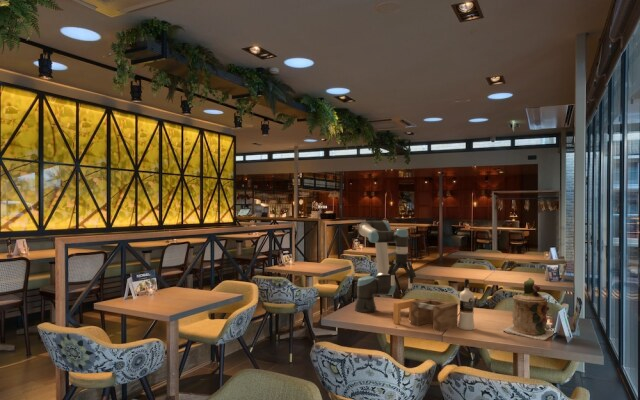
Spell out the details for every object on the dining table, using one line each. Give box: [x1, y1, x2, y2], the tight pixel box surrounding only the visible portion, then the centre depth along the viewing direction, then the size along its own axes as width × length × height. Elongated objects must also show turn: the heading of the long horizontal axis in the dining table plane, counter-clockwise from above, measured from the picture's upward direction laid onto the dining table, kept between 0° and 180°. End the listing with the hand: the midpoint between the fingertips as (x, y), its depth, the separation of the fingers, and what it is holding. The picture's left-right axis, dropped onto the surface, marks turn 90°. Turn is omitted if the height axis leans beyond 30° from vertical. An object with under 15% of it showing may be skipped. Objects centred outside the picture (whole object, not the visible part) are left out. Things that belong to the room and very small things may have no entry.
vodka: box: [457, 278, 475, 331], centre depth 280 cm, size 9×9×30 cm
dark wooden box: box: [410, 297, 459, 333], centre depth 286 cm, size 22×18×14 cm
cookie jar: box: [502, 277, 555, 341], centre depth 273 cm, size 25×25×32 cm
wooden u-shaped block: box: [392, 298, 416, 326], centre depth 294 cm, size 4×19×13 cm, turn 133°
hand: (401, 287), depth 291 cm, fingers open, 13 cm apart
